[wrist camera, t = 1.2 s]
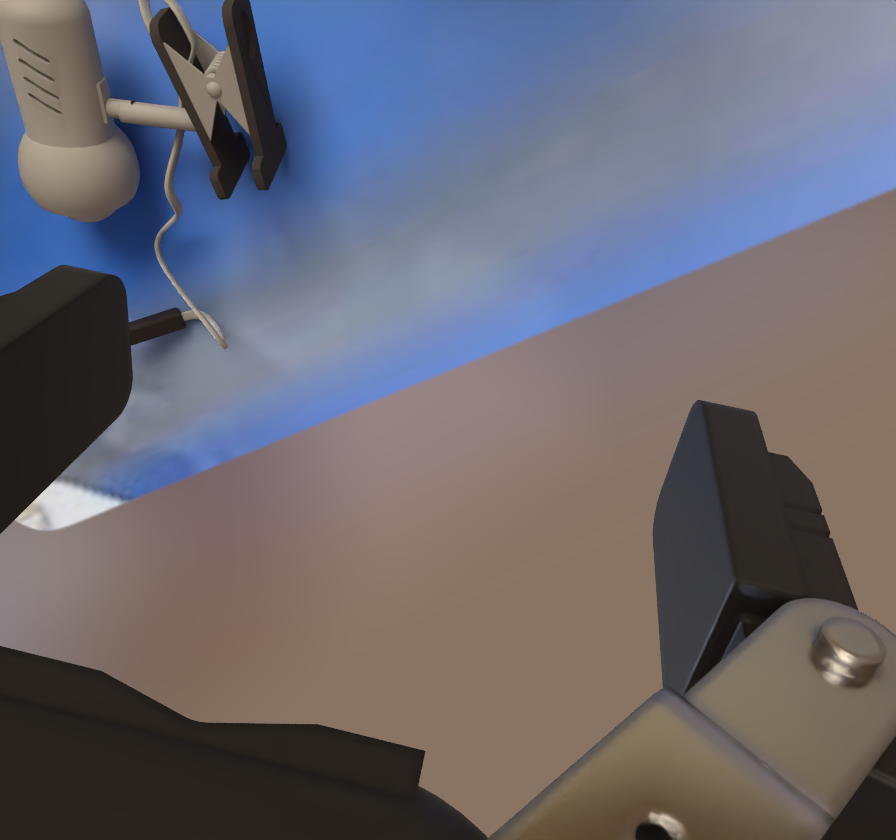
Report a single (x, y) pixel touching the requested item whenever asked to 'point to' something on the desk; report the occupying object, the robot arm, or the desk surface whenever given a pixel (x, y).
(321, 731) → the robot arm
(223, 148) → the clip-on lamp
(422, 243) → the desk surface
